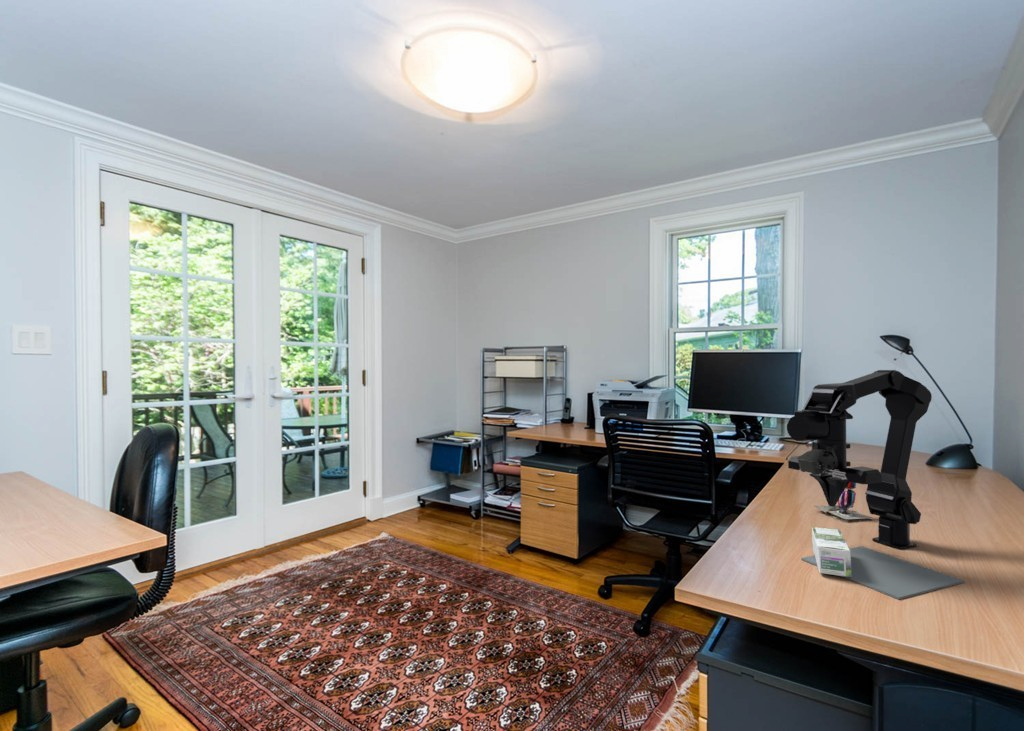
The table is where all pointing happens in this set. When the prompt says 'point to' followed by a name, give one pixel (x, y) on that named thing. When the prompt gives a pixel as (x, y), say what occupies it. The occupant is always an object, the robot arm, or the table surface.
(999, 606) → the table surface
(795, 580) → the table surface
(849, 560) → the syrup box
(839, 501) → the statue
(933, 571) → the topple mat
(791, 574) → the table surface
